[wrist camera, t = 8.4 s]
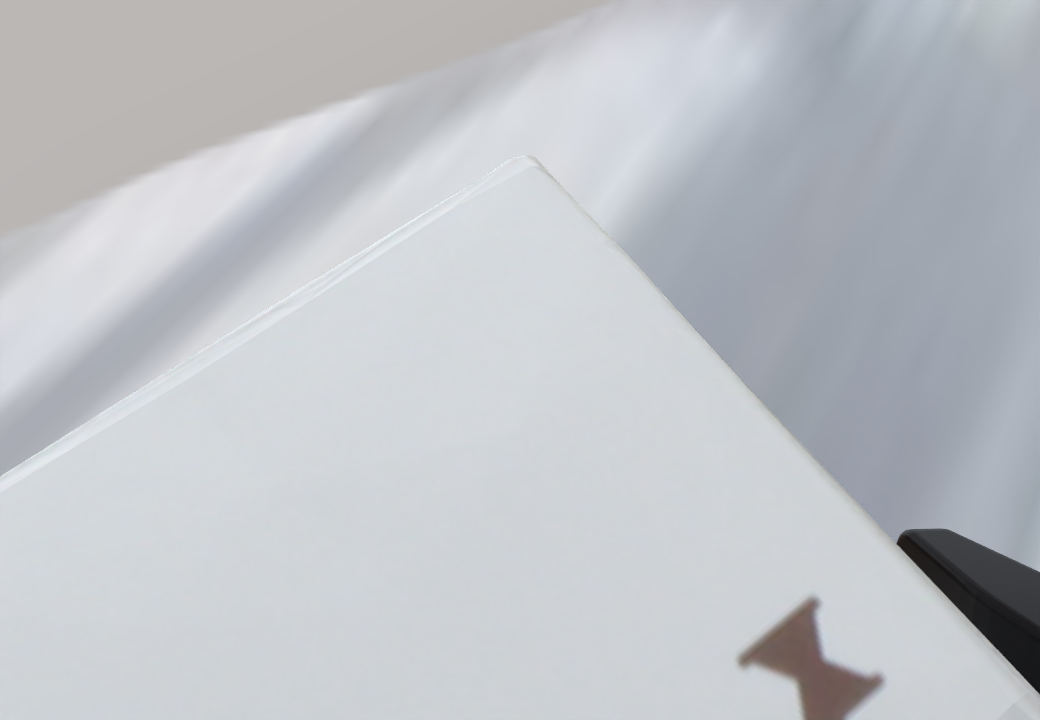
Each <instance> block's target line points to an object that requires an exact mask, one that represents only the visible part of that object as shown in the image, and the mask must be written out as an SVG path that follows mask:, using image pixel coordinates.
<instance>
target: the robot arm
mask: <svg viewBox="0 0 1040 720" xmlns="http://www.w3.org/2000/svg"><path fill="white" fill-rule="evenodd" d="M897 545H898V546H899V547H900V548H901V549H902V550H903V551H904V553H905V554H906V555H907V556H908V557H909V558H910V559H911V560H912V561H913V562H914V563H915V564H916V565H917V566H918V567H919V568H920V569H921V570H922V571H923V572H924V573H925V575H926V576H927V577H928V578H929V579H930V580H931V581H932V582H933V583H934V584H935V585H936V586H937V587H938V588H939V589H940V590H941V591H942V592H943V593H944V594H945V595H946V597H947V598H948V599H949V600H950V601H951V602H952V603H953V604H954V605H955V606H956V607H957V608H958V609H959V610H960V611H961V612H962V613H963V614H964V615H965V616H966V617H967V619H968V620H969V621H970V622H971V623H972V624H973V625H974V626H975V627H976V628H977V629H978V630H979V631H980V632H981V633H982V634H983V635H984V636H985V637H986V638H987V639H988V640H989V642H990V643H991V644H992V645H993V646H994V647H995V648H996V649H997V650H998V651H999V652H1000V653H1001V654H1002V655H1003V656H1004V657H1005V658H1006V659H1007V660H1008V661H1009V662H1010V664H1011V665H1012V666H1013V667H1014V668H1015V669H1016V670H1017V671H1018V672H1019V673H1020V674H1021V675H1022V676H1023V677H1024V678H1025V679H1026V681H1027V682H1028V683H1029V684H1030V685H1031V686H1032V687H1033V688H1034V689H1035V690H1036V691H1037V692H1038V693H1039V694H1040V572H1038V571H1036V570H1034V569H1032V568H1030V567H1028V566H1025V565H1023V564H1021V563H1019V562H1017V561H1015V560H1013V559H1010V558H1008V557H1006V556H1004V555H1002V554H1000V553H998V552H995V551H993V550H991V549H989V548H987V547H985V546H982V545H980V544H978V543H976V542H974V541H972V540H970V539H967V538H965V537H963V536H961V535H959V534H957V533H955V532H952V531H950V530H947V529H910V530H906V531H904V532H903V533H902V534H901V535H900V536H899V539H898V541H897Z"/></svg>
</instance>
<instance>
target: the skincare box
mask: <svg viewBox="0 0 1040 720" xmlns="http://www.w3.org/2000/svg"><path fill="white" fill-rule="evenodd" d="M0 720H1040V694H1039V693H1038V692H1037V691H1036V690H1035V689H1034V688H1033V687H1032V686H1031V685H1030V684H1029V683H1028V682H1027V681H1026V679H1025V678H1024V677H1023V676H1022V675H1021V674H1020V673H1019V672H1018V671H1017V670H1016V669H1015V668H1014V667H1013V666H1012V665H1011V664H1010V662H1009V661H1008V660H1007V659H1006V658H1005V657H1004V656H1003V655H1002V654H1001V653H1000V652H999V651H998V650H997V649H996V648H995V647H994V646H993V645H992V644H991V643H990V642H989V640H988V639H987V638H986V637H985V636H984V635H983V634H982V633H981V632H980V631H979V630H978V629H977V628H976V627H975V626H974V625H973V624H972V623H971V622H970V621H969V620H968V619H967V617H966V616H965V615H964V614H963V613H962V612H961V611H960V610H959V609H958V608H957V607H956V606H955V605H954V604H953V603H952V602H951V601H950V600H949V599H948V598H947V597H946V595H945V594H944V593H943V592H942V591H941V590H940V589H939V588H938V587H937V586H936V585H935V584H934V583H933V582H932V581H931V580H930V579H929V578H928V577H927V576H926V575H925V573H924V572H923V571H922V570H921V569H920V568H919V567H918V566H917V565H916V564H915V563H914V562H913V561H912V560H911V559H910V558H909V557H908V556H907V555H906V554H905V553H904V551H903V550H902V549H901V548H900V547H899V546H898V545H897V544H896V543H895V542H894V541H893V540H892V539H891V538H890V537H889V536H888V535H887V534H886V533H885V532H884V530H883V529H882V528H881V527H880V526H879V525H878V524H877V523H876V522H875V521H874V520H873V519H872V518H871V517H870V516H869V515H868V514H867V512H866V511H865V510H864V509H863V508H862V507H861V506H860V505H859V504H858V503H857V502H856V501H855V500H854V499H853V498H852V497H851V496H850V494H849V493H848V492H847V491H846V490H845V489H844V488H843V487H842V486H841V485H840V484H839V483H838V482H837V481H836V480H835V479H834V478H833V476H832V475H831V474H830V473H829V472H828V471H827V470H826V469H825V468H824V467H823V466H822V465H821V464H820V463H819V462H818V461H817V460H816V458H815V457H814V456H813V455H812V454H811V453H810V452H809V451H808V450H807V449H806V448H805V447H804V446H803V445H802V444H801V443H800V442H799V440H798V439H797V438H796V437H795V436H794V435H793V434H792V433H791V432H790V431H789V430H788V429H787V428H786V427H785V426H784V425H783V424H782V422H781V421H780V420H779V419H778V418H777V417H776V416H775V415H774V414H773V413H772V412H771V411H770V410H769V409H768V408H767V407H766V406H765V404H764V403H763V402H762V401H761V400H760V399H759V398H758V397H757V396H756V395H755V394H754V393H753V392H752V391H751V390H750V389H749V387H748V386H747V385H746V384H745V383H744V382H743V381H742V380H741V379H740V378H739V377H738V376H737V375H736V374H735V373H734V371H733V370H732V369H731V368H730V367H729V366H728V365H727V364H726V363H725V362H724V361H723V360H722V359H721V358H720V356H719V355H718V354H717V353H716V352H715V351H714V350H713V349H712V348H711V347H710V346H709V345H708V344H707V343H706V341H705V340H704V339H703V338H702V337H701V336H700V335H699V334H698V333H697V332H696V331H695V330H694V328H693V327H692V326H691V325H690V324H689V323H688V322H687V321H686V319H685V318H684V317H683V316H682V315H681V314H680V313H679V311H678V310H677V309H676V308H675V307H674V306H673V305H672V304H671V302H670V301H669V300H668V299H667V298H666V297H665V296H664V295H663V293H662V292H661V291H660V290H659V289H658V288H657V287H656V286H655V285H654V284H653V283H652V281H651V280H650V279H649V278H648V277H647V276H646V275H645V274H644V273H643V272H642V270H641V269H640V268H639V267H638V266H637V265H636V264H635V263H634V262H633V261H632V259H631V258H630V257H629V256H628V255H627V254H626V253H625V252H624V251H623V250H622V249H621V248H620V247H619V246H618V245H617V244H616V243H615V242H614V240H613V239H612V238H611V237H610V236H609V235H608V234H607V233H606V232H605V231H604V230H603V229H602V228H601V227H600V226H599V225H598V224H597V223H596V222H595V221H594V220H593V219H592V217H591V216H590V215H589V214H588V213H587V212H586V211H585V210H584V209H583V208H582V207H581V206H580V205H579V204H578V203H577V202H576V201H575V200H574V198H573V197H572V196H571V195H570V194H569V193H568V192H567V191H566V190H565V189H564V188H563V187H562V186H561V185H560V184H559V183H558V182H557V181H556V179H555V178H554V177H553V176H552V175H551V174H550V173H549V172H548V171H547V170H546V169H545V168H544V166H543V165H542V164H541V163H540V162H539V161H538V160H537V159H536V158H535V157H532V156H528V155H525V156H519V157H514V158H510V159H509V160H507V161H506V162H504V163H503V164H501V165H500V166H498V167H497V168H495V169H494V170H492V171H491V172H489V173H488V174H486V175H485V176H483V177H482V178H480V179H479V180H477V181H475V182H474V183H472V184H470V185H469V186H467V187H465V188H464V189H462V190H461V191H459V192H457V193H456V194H454V195H452V196H451V197H449V198H447V199H446V200H444V201H442V202H441V203H439V204H437V205H436V206H434V207H432V208H431V209H429V210H428V211H426V212H424V213H423V214H421V215H419V216H418V217H416V218H414V219H413V220H411V221H410V222H408V223H406V224H405V225H403V226H402V227H400V228H398V229H397V230H395V231H393V232H392V233H390V234H389V235H387V236H385V237H384V238H382V239H381V240H379V241H377V242H376V243H374V244H372V245H371V246H369V247H368V248H366V249H364V250H363V251H361V252H360V253H358V254H356V255H355V256H353V257H351V258H350V259H348V260H346V261H345V262H343V263H341V264H340V265H338V266H336V267H335V268H333V269H332V270H330V271H328V272H327V273H325V274H323V275H322V276H320V277H318V278H317V279H315V280H313V281H312V282H310V283H308V284H307V285H305V286H303V287H302V288H300V289H299V290H297V291H295V292H294V293H292V294H290V295H289V296H287V297H286V298H284V299H282V300H281V301H279V302H278V303H276V304H274V305H273V306H271V307H270V308H268V309H266V310H265V311H263V312H262V313H260V314H258V315H257V316H255V317H254V318H252V319H250V320H249V321H247V322H246V323H244V324H242V325H241V326H239V327H238V328H236V329H234V330H233V331H231V332H230V333H228V334H226V335H225V336H223V337H222V338H220V339H218V340H217V341H215V342H214V343H212V344H210V345H209V346H207V347H206V348H204V349H203V350H201V351H199V352H198V353H196V354H195V355H193V356H191V357H190V358H188V359H187V360H185V361H183V362H182V363H180V364H179V365H177V366H175V367H174V368H172V369H171V370H169V371H167V372H166V373H164V374H163V375H161V376H159V377H158V378H156V379H155V380H153V381H151V382H150V383H148V384H147V385H145V386H143V387H142V388H140V389H139V390H137V391H135V392H134V393H132V394H131V395H129V396H127V397H126V398H124V399H123V400H121V401H120V402H118V403H116V404H115V405H113V406H112V407H110V408H108V409H107V410H105V411H104V412H102V413H100V414H99V415H97V416H96V417H94V418H93V419H91V420H89V421H88V422H86V423H85V424H83V425H81V426H80V427H78V428H77V429H75V430H73V431H72V432H70V433H69V434H67V435H66V436H64V437H62V438H61V439H59V440H58V441H56V442H54V443H53V444H51V445H50V446H48V447H46V448H45V449H43V450H42V451H40V452H39V453H37V454H35V455H34V456H32V457H31V458H29V459H27V460H26V461H24V462H23V463H21V464H19V465H18V466H16V467H15V468H13V469H11V470H10V471H8V472H7V473H5V474H4V475H2V476H0Z"/></svg>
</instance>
